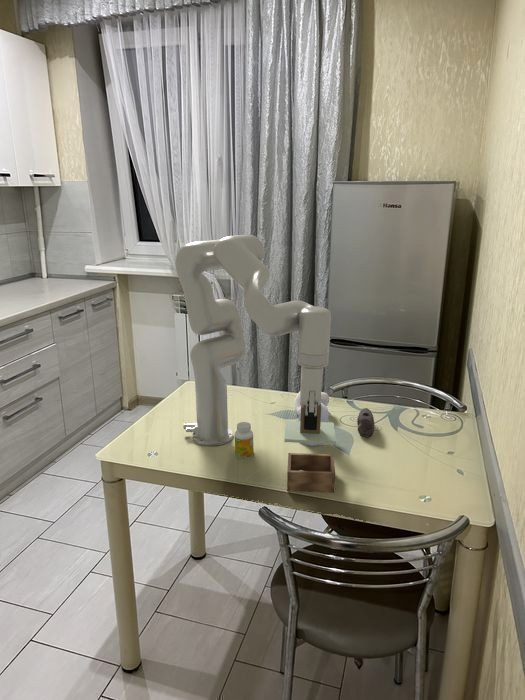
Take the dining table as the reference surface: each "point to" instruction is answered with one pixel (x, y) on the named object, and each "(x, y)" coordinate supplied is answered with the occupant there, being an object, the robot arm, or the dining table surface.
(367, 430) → the perforated stone tool
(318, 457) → the box
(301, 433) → the lid
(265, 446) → the dining table surface
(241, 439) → the supplement bottle
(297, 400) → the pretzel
